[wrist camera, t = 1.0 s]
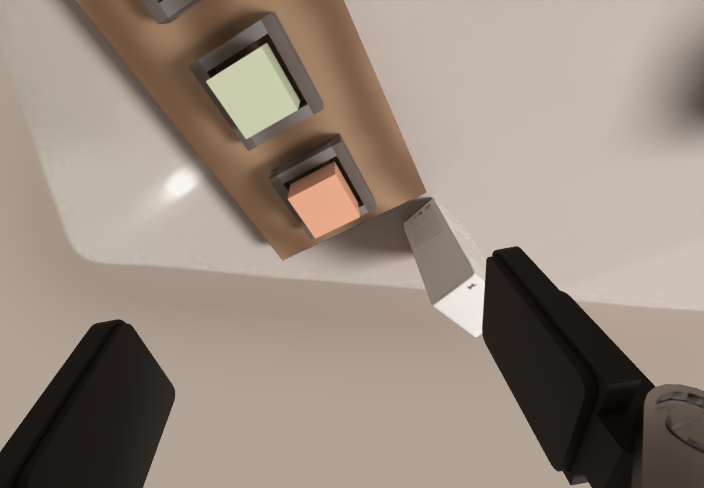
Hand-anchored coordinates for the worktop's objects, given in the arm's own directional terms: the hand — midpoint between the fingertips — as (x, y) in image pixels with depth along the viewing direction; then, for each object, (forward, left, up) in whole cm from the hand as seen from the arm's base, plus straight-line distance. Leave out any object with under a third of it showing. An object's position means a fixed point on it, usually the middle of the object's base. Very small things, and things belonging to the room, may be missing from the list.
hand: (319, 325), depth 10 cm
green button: (+3, -4, -20) cm, 20 cm away
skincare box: (-4, +16, -25) cm, 30 cm away
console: (+3, -4, -24) cm, 25 cm away
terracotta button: (+3, +5, -20) cm, 20 cm away
